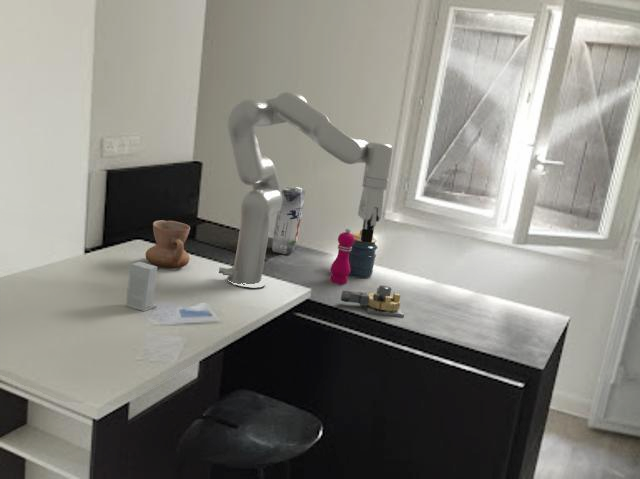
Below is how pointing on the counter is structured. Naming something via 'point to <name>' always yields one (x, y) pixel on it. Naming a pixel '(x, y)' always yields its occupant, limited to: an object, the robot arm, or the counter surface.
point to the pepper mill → (342, 258)
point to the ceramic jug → (169, 245)
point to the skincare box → (141, 286)
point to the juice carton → (288, 221)
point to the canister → (362, 257)
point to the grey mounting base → (383, 292)
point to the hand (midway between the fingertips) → (366, 241)
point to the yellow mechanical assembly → (372, 300)
